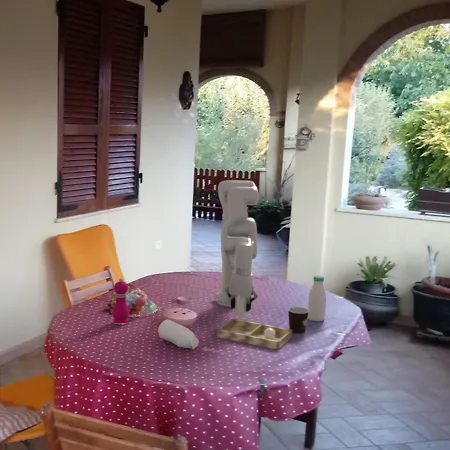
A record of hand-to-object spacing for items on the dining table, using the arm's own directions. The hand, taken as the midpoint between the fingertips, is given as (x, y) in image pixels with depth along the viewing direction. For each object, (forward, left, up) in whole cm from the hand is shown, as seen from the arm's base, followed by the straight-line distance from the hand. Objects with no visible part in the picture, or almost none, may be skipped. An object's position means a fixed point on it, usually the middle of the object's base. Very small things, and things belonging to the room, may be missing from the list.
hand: (240, 309), depth 259 cm
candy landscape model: (-50, -8, -7) cm, 52 cm away
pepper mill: (-44, -27, -7) cm, 52 cm away
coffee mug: (+27, +3, -7) cm, 28 cm away
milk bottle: (+28, +23, -7) cm, 37 cm away
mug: (0, 0, -3) cm, 3 cm away
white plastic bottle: (-10, -35, -7) cm, 37 cm away
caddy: (+13, -14, -6) cm, 20 cm away
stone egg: (+19, -14, -6) cm, 24 cm away
